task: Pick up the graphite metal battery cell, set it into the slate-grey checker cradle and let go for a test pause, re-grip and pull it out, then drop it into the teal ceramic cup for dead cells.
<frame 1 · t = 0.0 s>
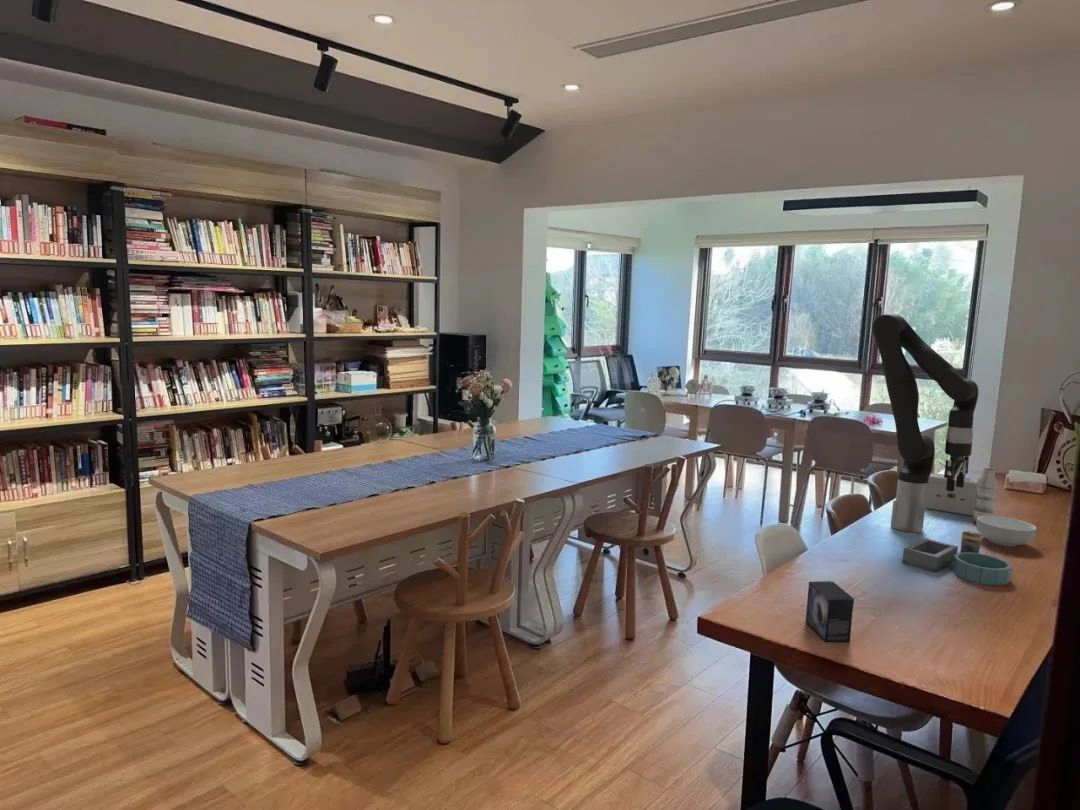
hand: (954, 489, 243), 17 cm above the table, tool pointing down, fingers open, 8 cm apart
checker cradle: (929, 561, 223), on the table
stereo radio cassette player: (952, 511, 280), on the table
plastic bottle: (982, 524, 265), on the table
small box: (826, 632, 172), on the table
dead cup: (980, 575, 212), on the table
cell: (968, 557, 228), on the table
cereal bowl: (1003, 543, 244), on the table
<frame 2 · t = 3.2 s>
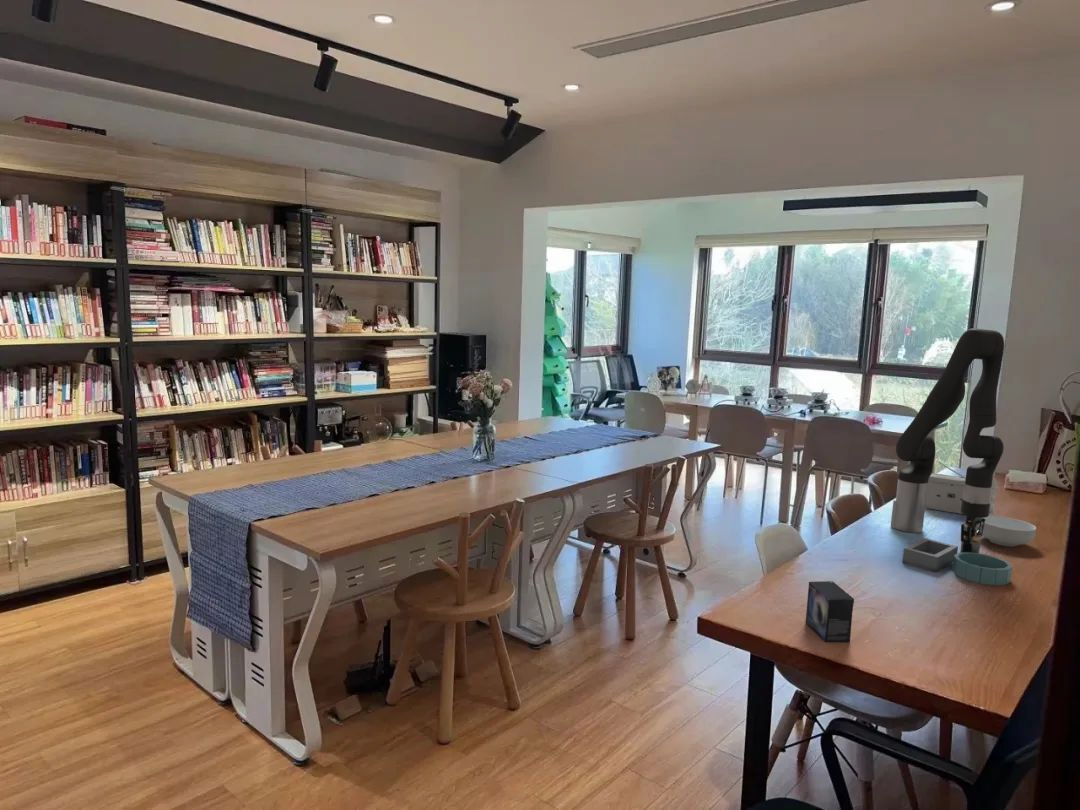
hand: (969, 552, 228), 1 cm above the table, tool pointing down, fingers closed on cell, 5 cm apart
cell: (969, 557, 228), on the table, touching gripper
everything else where it was.
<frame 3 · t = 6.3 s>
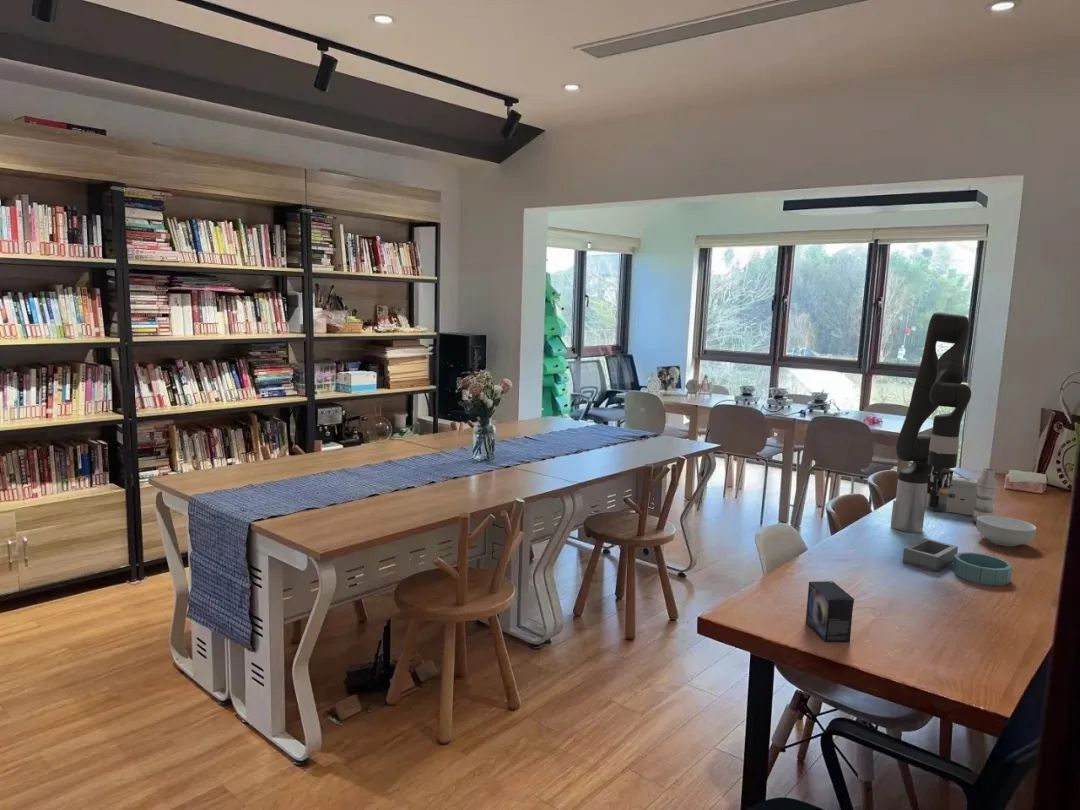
hand: (937, 505, 220), 17 cm above the table, tool pointing down, fingers closed on cell, 5 cm apart
cell: (936, 510, 220), point 16 cm above the table, touching gripper
everything else where it was.
when the fingers open (3 cm above the table, at t = 9.4 s): cell stays where it is, resting on checker cradle.
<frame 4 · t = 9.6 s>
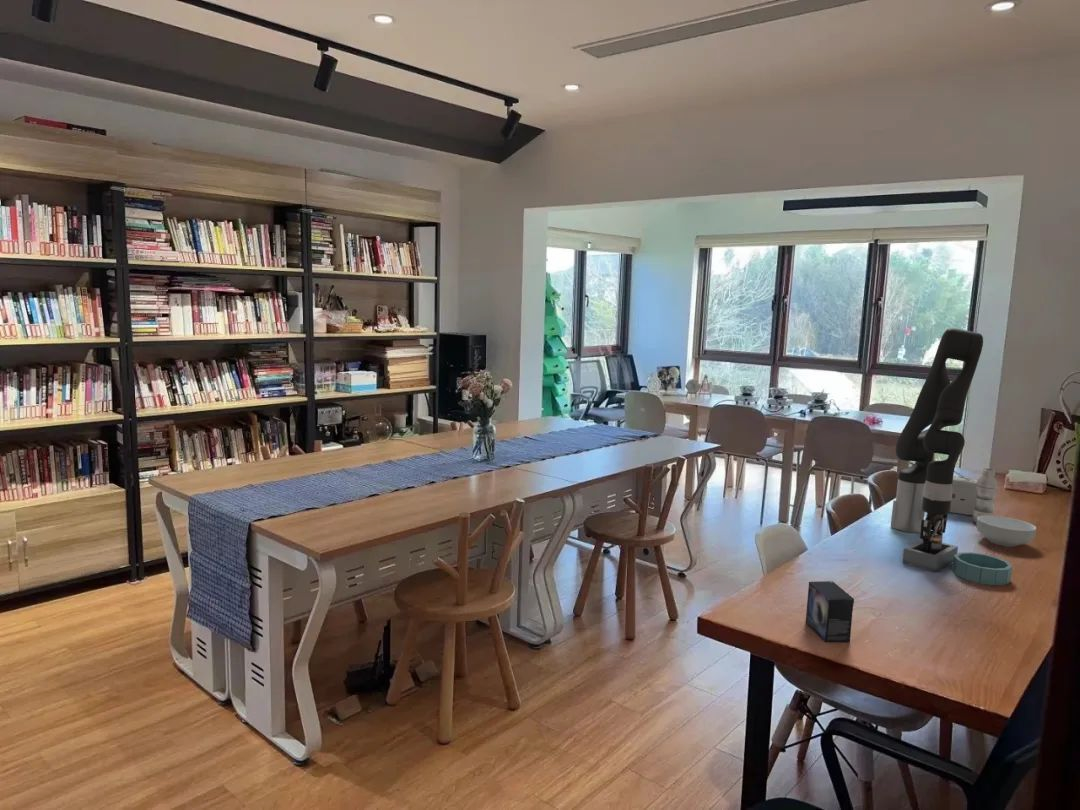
hand: (930, 549, 222), 4 cm above the table, tool pointing down, fingers open, 6 cm apart
cell: (930, 558, 223), point 1 cm above the table, touching checker cradle
everything else where it was.
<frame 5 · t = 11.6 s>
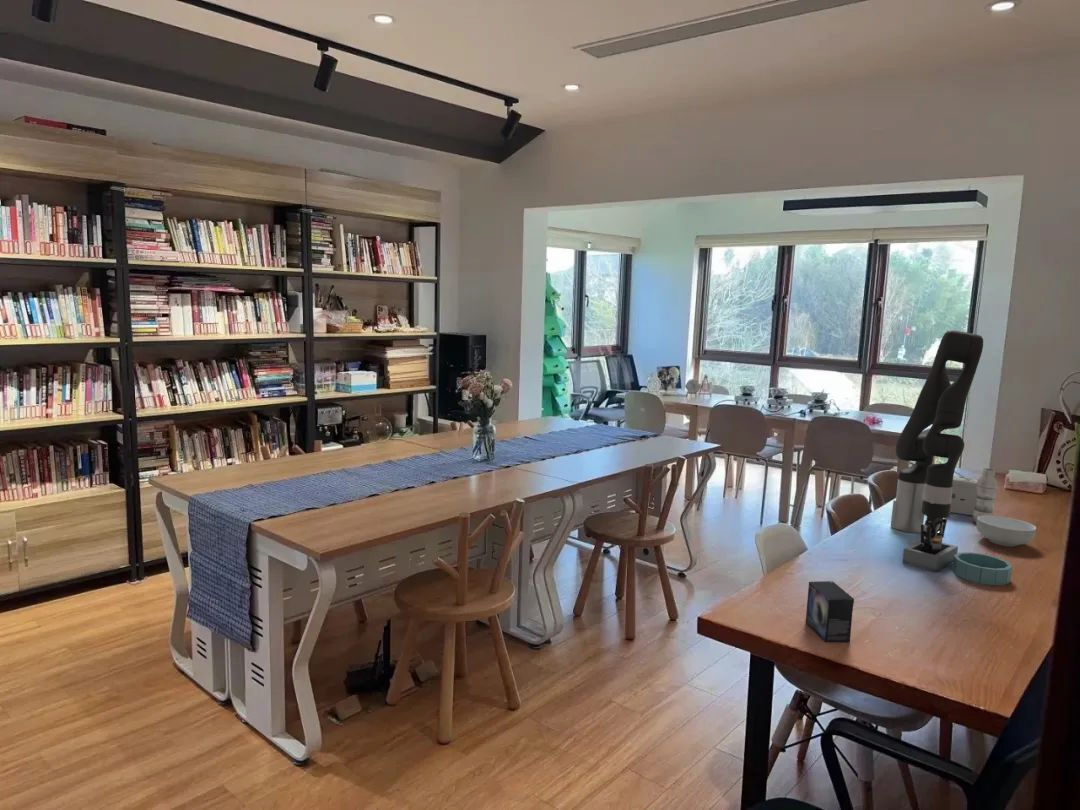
hand: (930, 554, 222), 2 cm above the table, tool pointing down, fingers closed on cell, 5 cm apart
cell: (930, 558, 223), point 1 cm above the table, touching checker cradle, gripper
everything else where it was.
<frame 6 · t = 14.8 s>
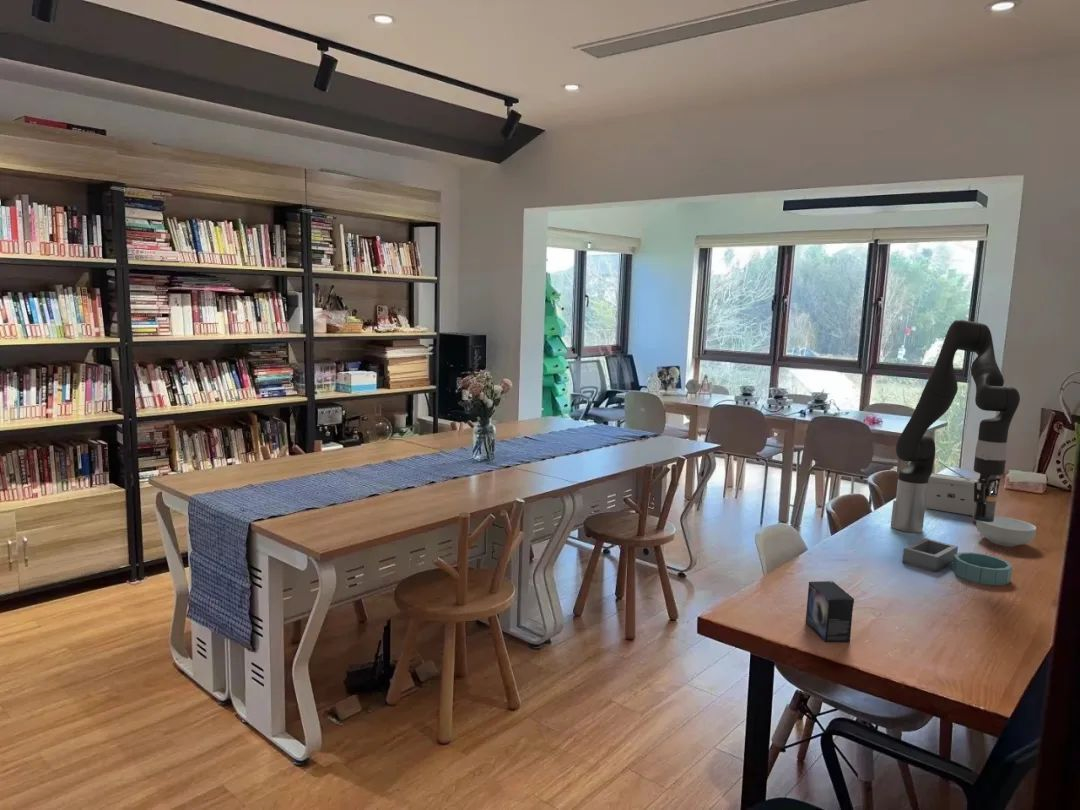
hand: (983, 514, 210), 18 cm above the table, tool pointing down, fingers closed on cell, 5 cm apart
cell: (983, 519, 211), point 17 cm above the table, touching gripper
everything else where it was.
when the fingers open (4 cm above the table, at t = 17.9 s): cell drops 2 cm, resting on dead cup.
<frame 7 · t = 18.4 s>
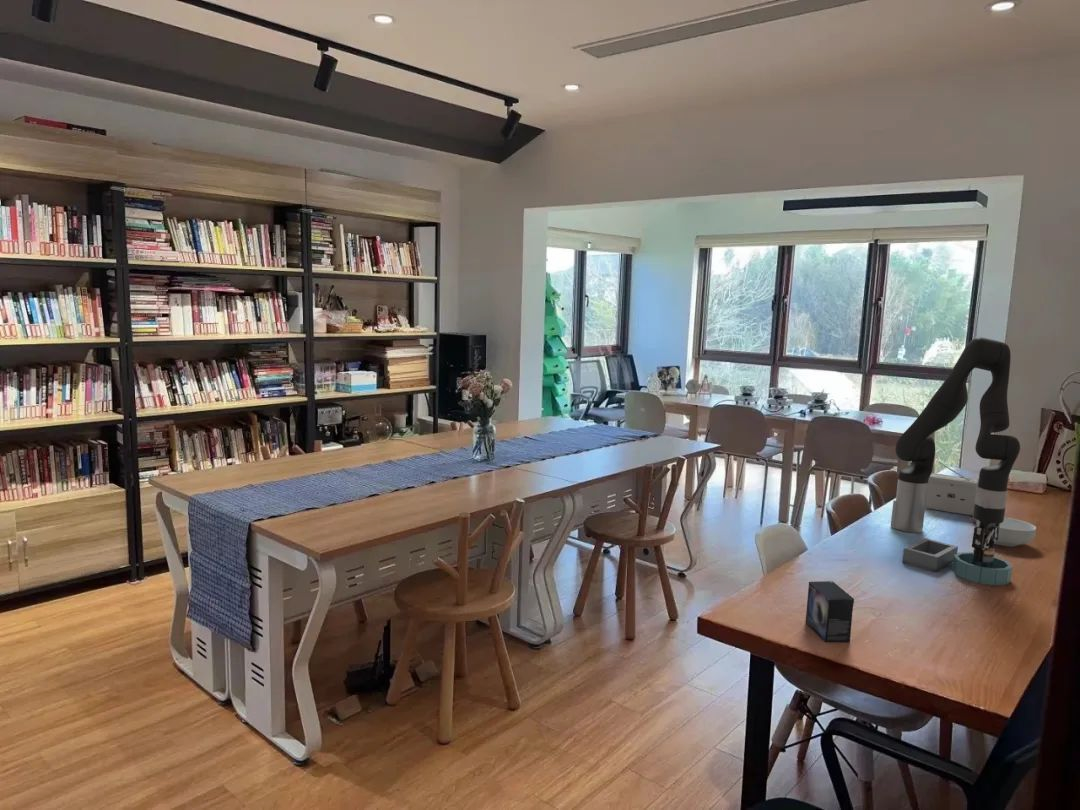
hand: (983, 558, 212), 5 cm above the table, tool pointing down, fingers open, 8 cm apart
cell: (981, 572, 212), point 1 cm above the table, touching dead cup
everything else where it was.
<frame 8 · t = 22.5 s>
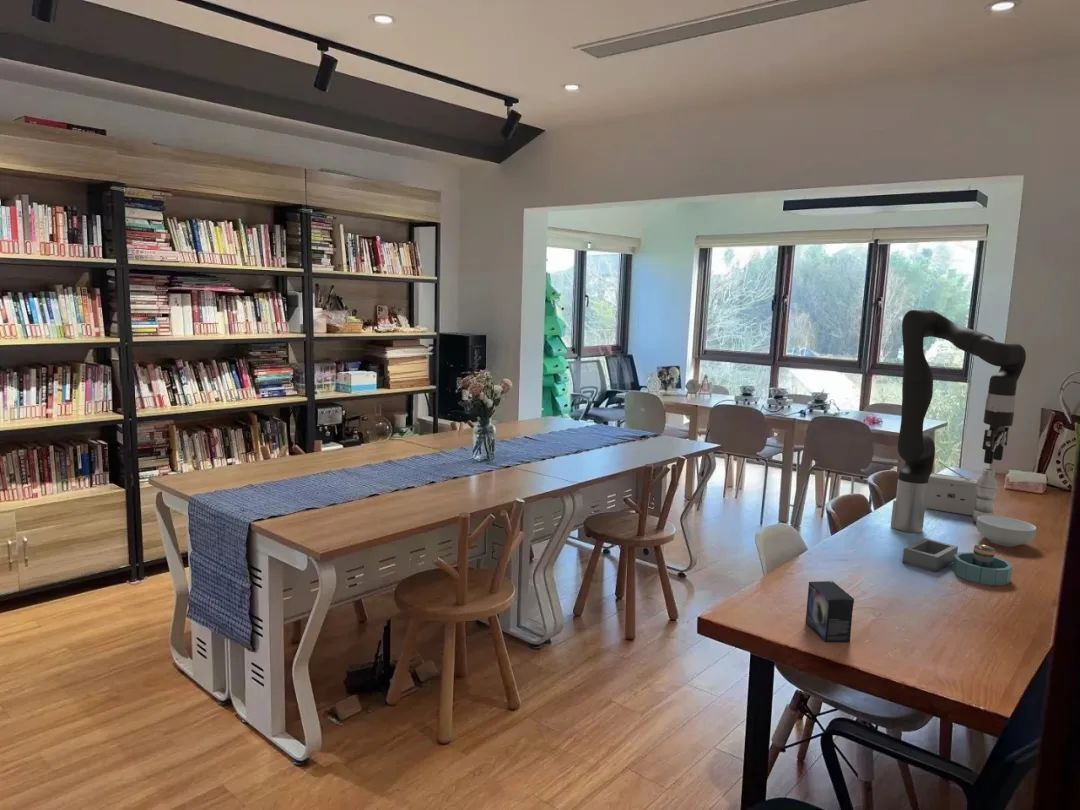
hand: (992, 461, 225), 30 cm above the table, tool pointing down, fingers open, 8 cm apart
nothing on the table moved.
at the end: cell inside the target area on the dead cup (0.1 cm from its centre), point 1.0 cm above the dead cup's base; the gripper is holding nothing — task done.
